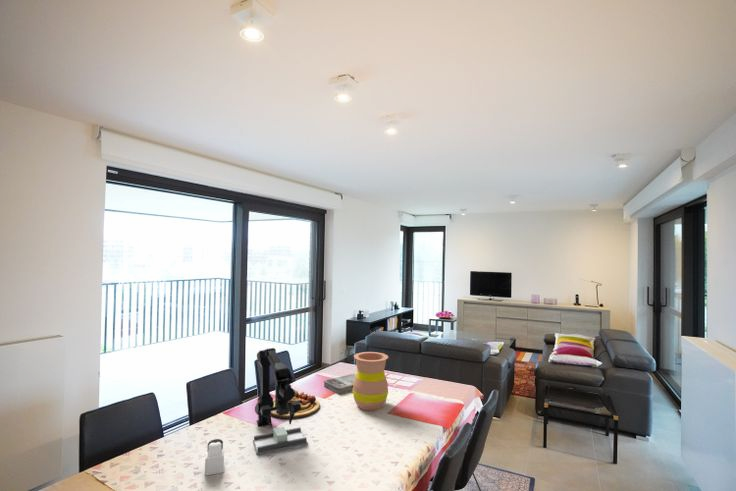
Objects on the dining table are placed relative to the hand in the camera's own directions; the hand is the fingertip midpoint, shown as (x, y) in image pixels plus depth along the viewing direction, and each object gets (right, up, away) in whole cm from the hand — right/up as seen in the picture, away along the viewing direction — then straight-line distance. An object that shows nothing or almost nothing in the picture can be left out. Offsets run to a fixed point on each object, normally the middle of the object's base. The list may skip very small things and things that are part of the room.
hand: (280, 425), depth 179 cm
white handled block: (-23, -8, -23) cm, 33 cm away
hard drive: (+28, -12, +79) cm, 84 cm away
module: (0, -7, 0) cm, 7 cm away
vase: (+44, -11, +47) cm, 65 cm away
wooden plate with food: (-2, -10, +42) cm, 43 cm away
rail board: (0, -9, 0) cm, 9 cm away
